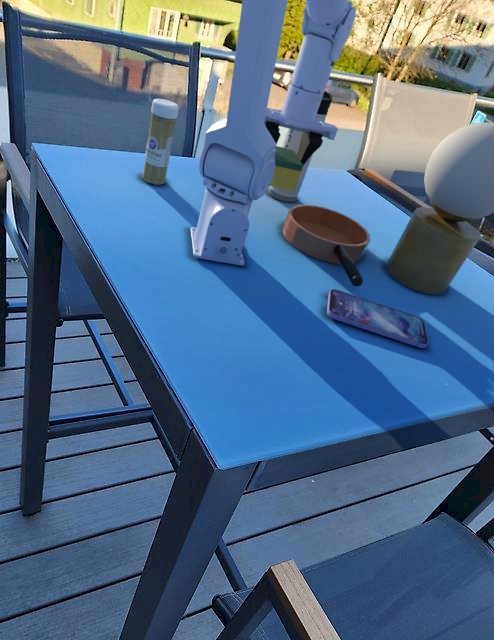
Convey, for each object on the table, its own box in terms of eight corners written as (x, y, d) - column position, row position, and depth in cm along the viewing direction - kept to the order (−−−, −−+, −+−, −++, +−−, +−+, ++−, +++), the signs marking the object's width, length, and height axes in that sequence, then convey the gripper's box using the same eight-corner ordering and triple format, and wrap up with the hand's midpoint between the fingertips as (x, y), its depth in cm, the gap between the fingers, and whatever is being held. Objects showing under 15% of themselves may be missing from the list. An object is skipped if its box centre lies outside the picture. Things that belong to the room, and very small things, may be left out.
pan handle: (361, 289, 75) (366, 279, 74) (350, 288, 75) (355, 277, 73) (340, 252, 83) (344, 242, 82) (330, 250, 83) (334, 240, 82)
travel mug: (295, 193, 105) (332, 90, 92) (296, 205, 100) (335, 97, 87) (267, 186, 104) (300, 80, 91) (267, 197, 99) (302, 87, 86)
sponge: (294, 191, 87) (303, 165, 84) (267, 185, 86) (275, 159, 83) (285, 174, 92) (293, 149, 90) (260, 168, 91) (267, 143, 88)
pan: (372, 270, 85) (382, 252, 83) (291, 255, 82) (299, 236, 80) (347, 230, 96) (355, 213, 94) (275, 216, 93) (281, 198, 91)
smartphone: (429, 346, 69) (328, 312, 69) (426, 351, 69) (325, 318, 70) (424, 318, 74) (330, 287, 74) (421, 323, 75) (328, 292, 75)
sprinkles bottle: (137, 179, 90) (148, 99, 82) (148, 173, 94) (159, 96, 85) (159, 187, 90) (172, 108, 81) (169, 181, 93) (183, 104, 84)
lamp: (381, 243, 95) (453, 103, 79) (451, 270, 94) (539, 132, 77) (375, 275, 84) (457, 118, 68) (454, 305, 82) (558, 153, 66)
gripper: (340, 92, 84) (311, 172, 93) (260, 71, 80) (238, 155, 89) (352, 103, 79) (320, 186, 87) (268, 81, 75) (243, 169, 84)
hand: (279, 172), depth 88 cm, fingers closed on sponge, 5 cm apart
